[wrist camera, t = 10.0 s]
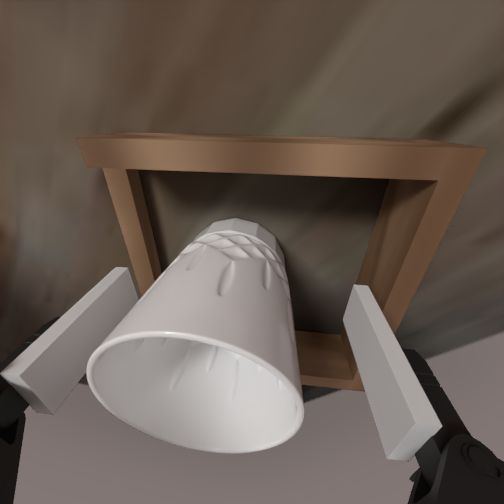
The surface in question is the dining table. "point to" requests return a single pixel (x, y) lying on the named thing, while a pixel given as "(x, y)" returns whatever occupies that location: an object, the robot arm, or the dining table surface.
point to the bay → (308, 164)
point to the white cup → (209, 348)
